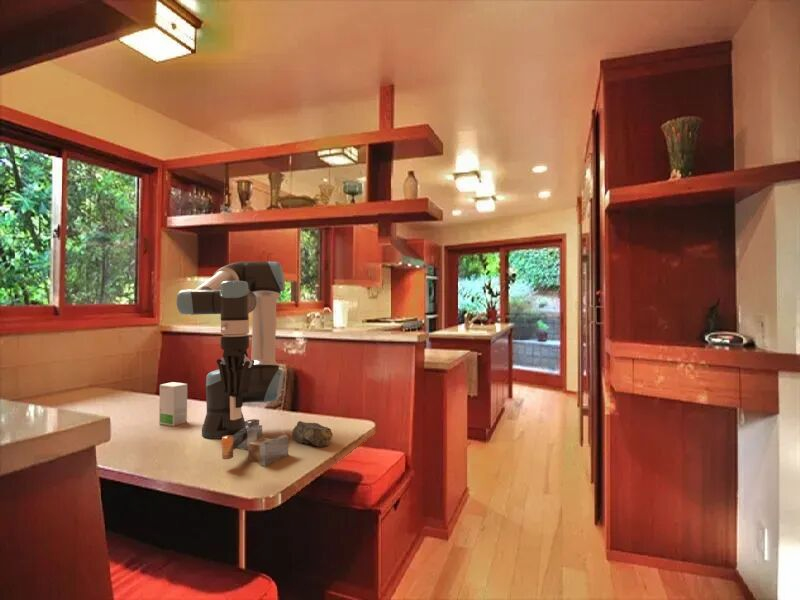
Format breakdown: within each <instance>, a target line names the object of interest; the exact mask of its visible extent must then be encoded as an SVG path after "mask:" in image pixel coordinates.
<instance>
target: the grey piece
mask: <svg viewBox="0 0 800 600" xmlns="http://www.w3.org/2000/svg"><path fill="white" fill-rule="evenodd" d="M262 438H265V437H263V436H262ZM267 438H268V437H267ZM268 439H270V438H268ZM236 448H237V449H241V450H247V451H249V446H247V439H246V440H244V441H243V442H242V443H241V444H240V445H239V446H237V447H236ZM236 448H235V449H236ZM287 456H289V435H285V434H281V435H279V436H278V437H274V438H272V440H270V441H268V442H265V443H263V444H261V445H260V462H259V466H262V467H267V466H269V465H271V464H273V463H275V462H276V461H279V460H281V459H283V458H285V457H287Z"/></svg>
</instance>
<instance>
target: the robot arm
mask: <svg viewBox="0 0 800 600" xmlns="http://www.w3.org/2000/svg"><path fill="white" fill-rule="evenodd" d="M285 284H286V283H285V275H284V271H283V266H282V265H281V263H280V262H278V261H269V260H268V261H242V260H241V261H236V262H233V263H230V264H226V265H224V266H222V267H220V268H218V269H217V270H216V271H215V272H213V275H212V277H210V278H209V279H208V280H206V281H205V282H203V283H202V284H200V285H199V286H198V287H196V288H195V289H190V288H188V289H181V290H180V291H179V292H178V293H177V295H176V307H177V310H178V313H180V314H181V315H191V316H193V315H194V316H195V315H220V334H221V335H222V336H221V337H220V349H221V350H223V353H222V357H221V358H219V359H218V358H217V359H216V363H217V366H218V369H216V370H213V371H210V372H209V373H208V374H207V375H206V379H205V380H206V382H205V383H206V384H205V391H206V393H205V394H206V396H205V397H206V414H205V418H204V420H203V425H202V427H201V436H202V437H203V438H206V439H222V437H223V436H226V435H232V436H233V435H235V434H236V433H237V432H238V431H240V430H241V429H242V428H244V427H245V421H246V420H245V417H244V415H243V412H242V407H243V404H248V403H249V404H251V403H253V404H254V403H268V402H271V403H272V402H276V401H277V400H279V398H280V396H281V392H282V389H283V385H284V384H283V383H284V370H282V369H280V365H279V363H278V362H277V361H276V332H277V301H278V299H280V297H282V296H281V293H282V292H283V291H285V290H286V285H285ZM251 313H252V325H251V326H252V329H251V356H250V357H251V359H250V358H249V355H248V351H247V350H248V349H249V348H250V336H249V335H248V334H249V333H250V319H249V314H251Z"/></svg>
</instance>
